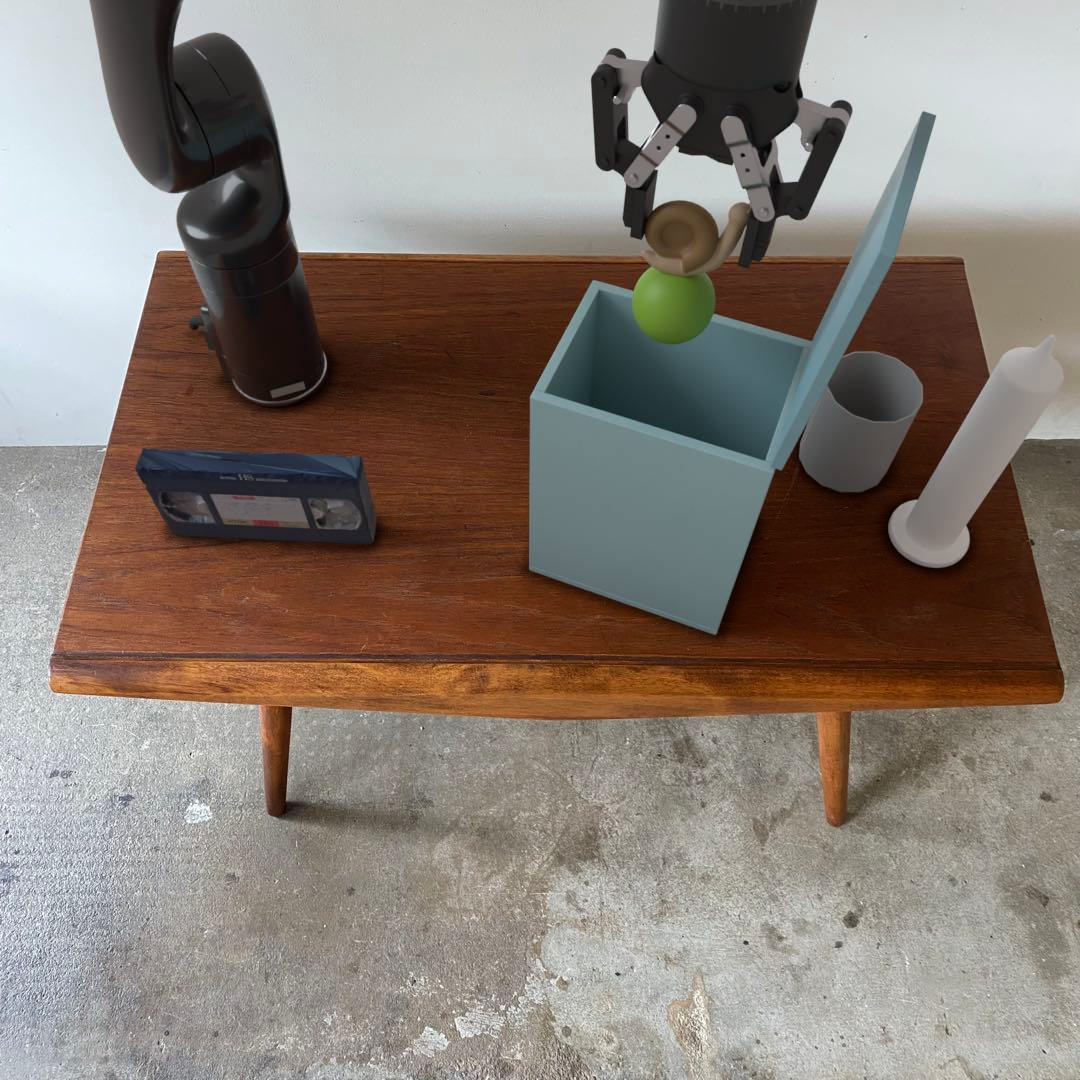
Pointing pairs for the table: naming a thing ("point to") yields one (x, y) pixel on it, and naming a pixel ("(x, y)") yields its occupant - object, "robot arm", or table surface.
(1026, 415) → the candle
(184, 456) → the vhs cassette tape
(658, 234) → the snail figurine
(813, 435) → the cup
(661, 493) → the chest
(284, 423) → the table surface
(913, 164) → the lid
